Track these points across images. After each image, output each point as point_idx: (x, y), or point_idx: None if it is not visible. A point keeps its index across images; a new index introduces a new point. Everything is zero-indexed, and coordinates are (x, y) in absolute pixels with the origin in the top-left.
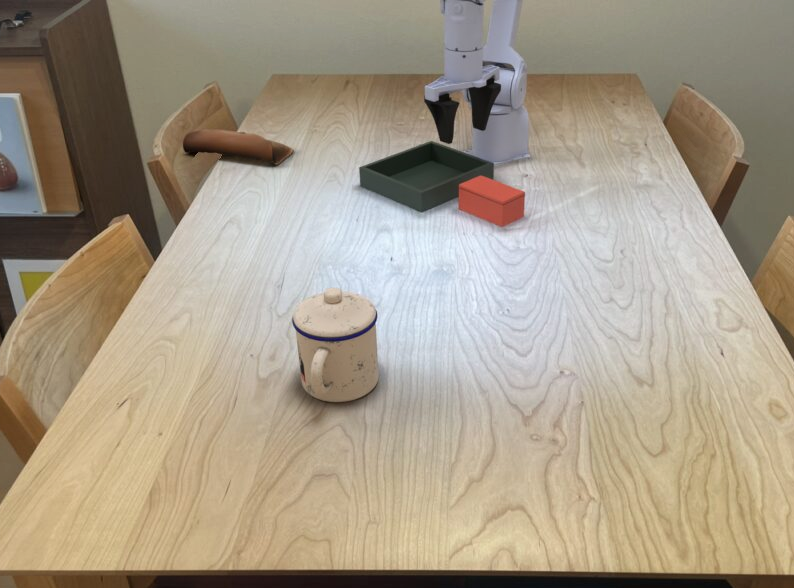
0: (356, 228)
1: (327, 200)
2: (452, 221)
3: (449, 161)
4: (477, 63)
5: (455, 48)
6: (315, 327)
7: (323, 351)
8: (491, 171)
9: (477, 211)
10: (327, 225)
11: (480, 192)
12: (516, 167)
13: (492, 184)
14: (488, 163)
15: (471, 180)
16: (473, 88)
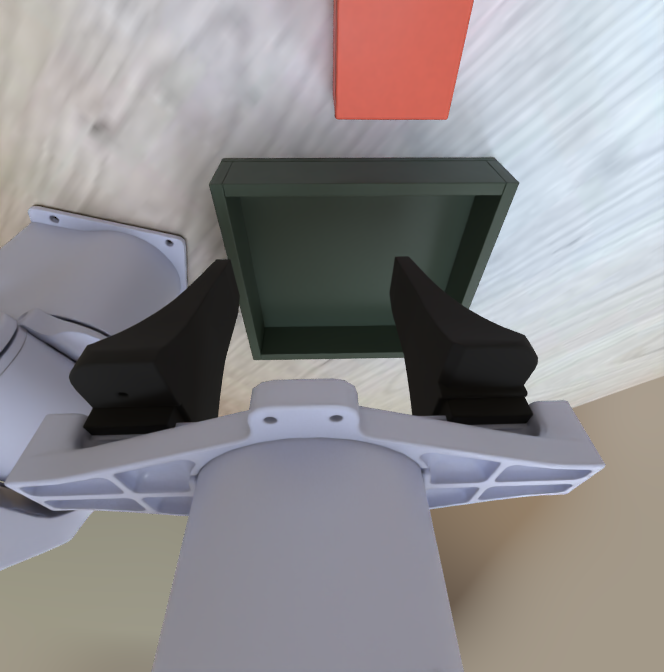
0: (615, 216)
1: (508, 327)
2: (493, 55)
3: (255, 296)
4: (302, 594)
5: None
6: None
7: None
8: (223, 174)
9: None
10: (614, 263)
11: None
12: (100, 192)
13: (375, 3)
14: (225, 193)
15: (394, 109)
16: (207, 417)
